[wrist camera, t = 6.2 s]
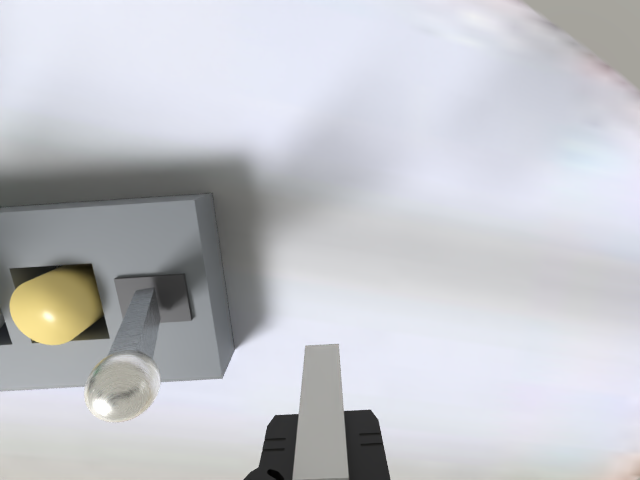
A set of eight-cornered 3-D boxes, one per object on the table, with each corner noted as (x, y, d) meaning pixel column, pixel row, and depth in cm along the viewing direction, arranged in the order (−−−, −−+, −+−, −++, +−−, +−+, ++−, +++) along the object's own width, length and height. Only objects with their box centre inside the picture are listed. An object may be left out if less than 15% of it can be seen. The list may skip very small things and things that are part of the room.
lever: (129, 328, 24) (84, 448, 14) (120, 288, 23) (66, 385, 13) (174, 319, 25) (163, 425, 15) (167, 280, 24) (150, 365, 14)
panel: (-73, 368, 31) (-133, 401, 27) (-133, 216, 28) (-213, 227, 24) (234, 350, 31) (221, 381, 27) (212, 193, 27) (192, 200, 23)
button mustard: (61, 320, 29) (21, 347, 25) (45, 263, 27) (0, 281, 23) (121, 317, 28) (89, 343, 25) (108, 259, 27) (72, 277, 23)
